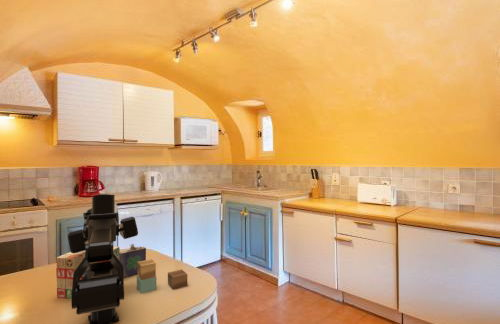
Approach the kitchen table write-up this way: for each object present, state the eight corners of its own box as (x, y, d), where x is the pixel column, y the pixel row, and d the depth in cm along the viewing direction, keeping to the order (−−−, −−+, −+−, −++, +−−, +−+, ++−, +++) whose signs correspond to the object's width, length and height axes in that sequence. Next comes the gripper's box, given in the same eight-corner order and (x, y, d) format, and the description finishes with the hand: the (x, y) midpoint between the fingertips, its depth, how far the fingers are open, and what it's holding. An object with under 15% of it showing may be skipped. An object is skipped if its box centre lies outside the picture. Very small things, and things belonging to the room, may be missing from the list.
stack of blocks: (105, 270, 108) (104, 237, 108) (120, 272, 107) (120, 238, 107) (56, 298, 87) (55, 256, 87) (74, 300, 86) (74, 258, 86)
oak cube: (155, 276, 93) (155, 263, 93) (141, 280, 90) (141, 266, 90) (151, 272, 96) (151, 259, 96) (137, 275, 94) (137, 261, 94)
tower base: (156, 289, 93) (156, 277, 93) (140, 294, 90) (140, 280, 90) (152, 284, 97) (151, 272, 97) (136, 288, 94) (136, 275, 94)
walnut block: (187, 286, 95) (187, 274, 95) (172, 290, 93) (172, 277, 93) (181, 281, 99) (181, 269, 99) (167, 284, 97) (167, 272, 96)
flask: (120, 279, 100) (120, 248, 100) (117, 277, 102) (117, 246, 102) (147, 272, 106) (147, 242, 106) (143, 270, 109) (143, 241, 108)
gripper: (132, 197, 90) (129, 205, 104) (60, 213, 81) (68, 219, 95) (140, 233, 88) (136, 236, 102) (68, 254, 79) (74, 254, 93)
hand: (105, 235), depth 98 cm, fingers open, 9 cm apart
